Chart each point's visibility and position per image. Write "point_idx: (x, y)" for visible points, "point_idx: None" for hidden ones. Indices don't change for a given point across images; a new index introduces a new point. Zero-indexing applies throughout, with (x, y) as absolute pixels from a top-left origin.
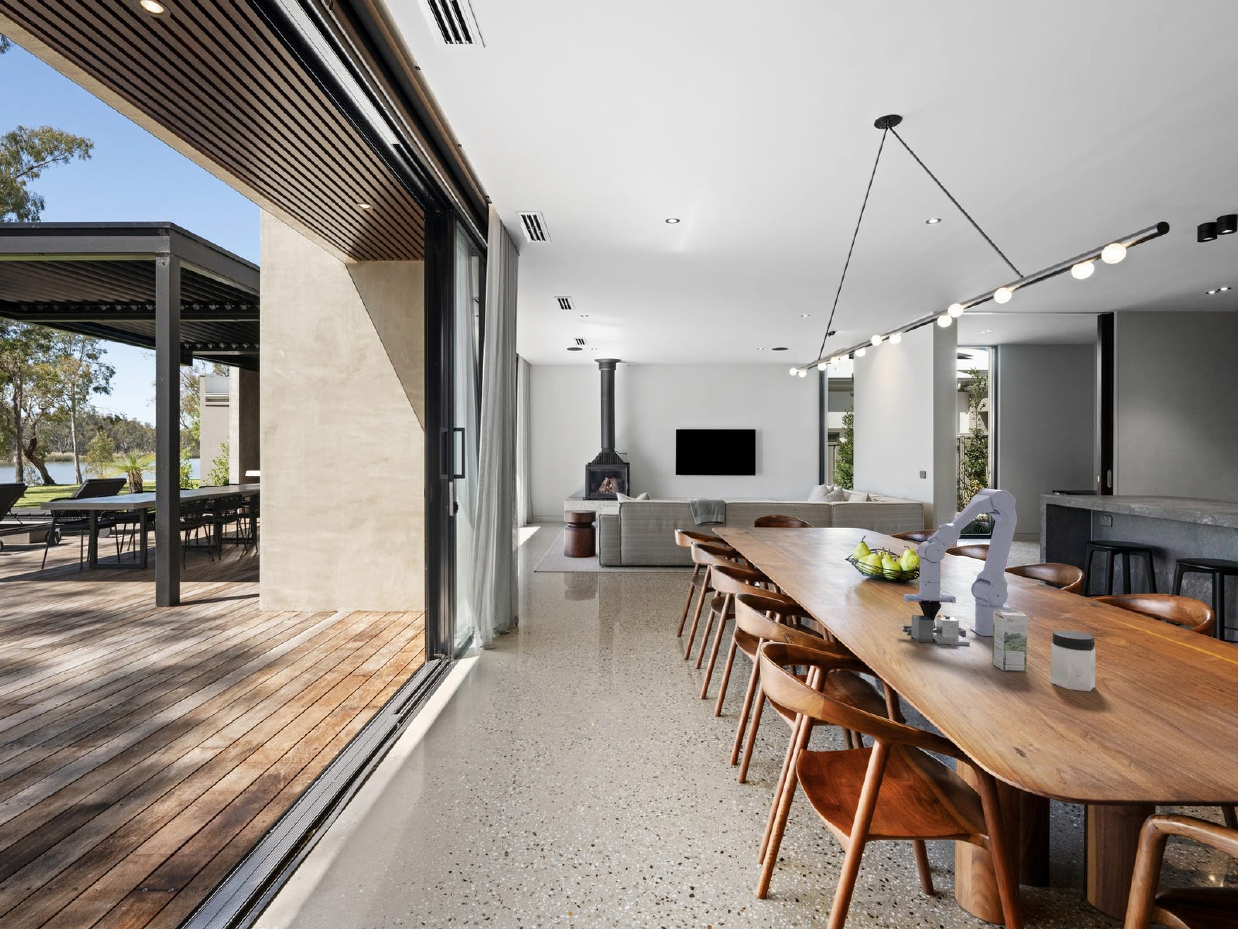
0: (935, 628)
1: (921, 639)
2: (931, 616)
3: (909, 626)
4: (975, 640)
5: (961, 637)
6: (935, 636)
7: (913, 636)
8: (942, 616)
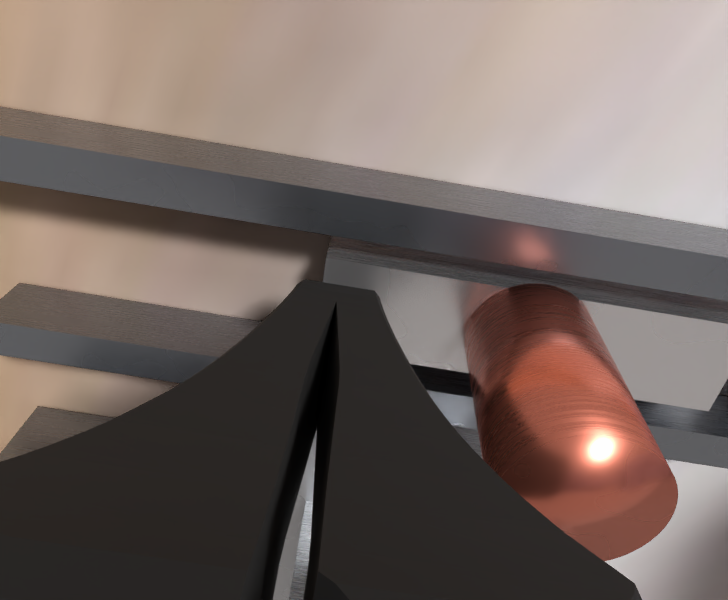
0: (432, 323)
1: None
2: (315, 519)
3: (42, 187)
4: (700, 551)
5: None
6: None
7: None
8: None
